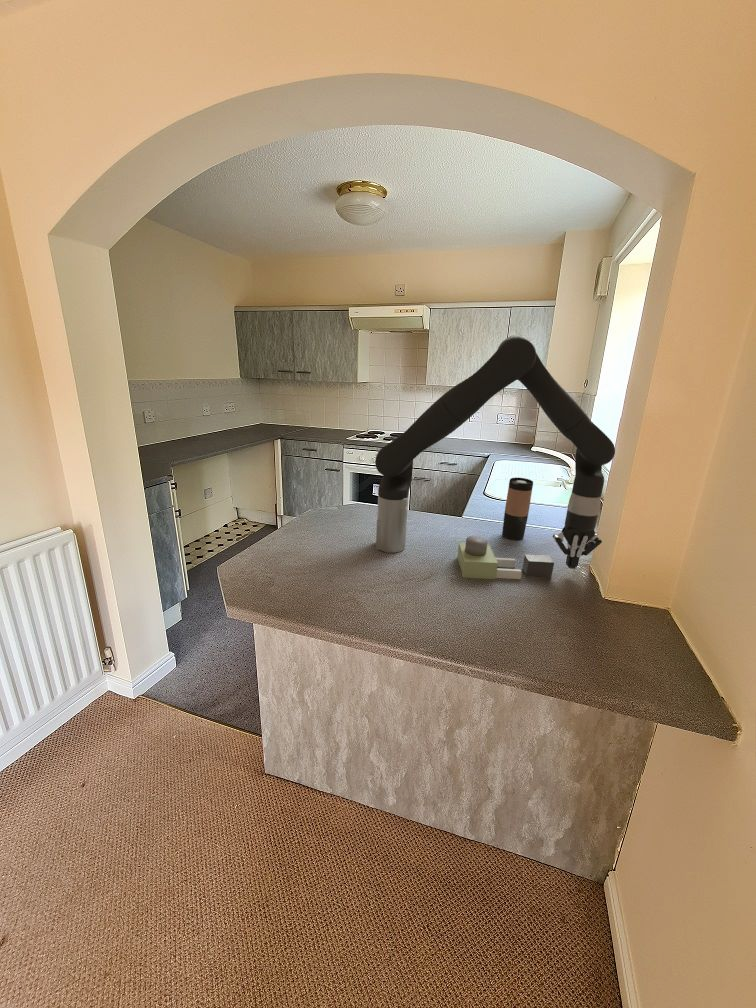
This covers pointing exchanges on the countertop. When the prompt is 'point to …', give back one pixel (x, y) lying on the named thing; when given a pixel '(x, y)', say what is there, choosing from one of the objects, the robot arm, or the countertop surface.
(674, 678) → the countertop surface
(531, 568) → the dark grey box
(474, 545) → the two-prong plug
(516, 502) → the travel mug
